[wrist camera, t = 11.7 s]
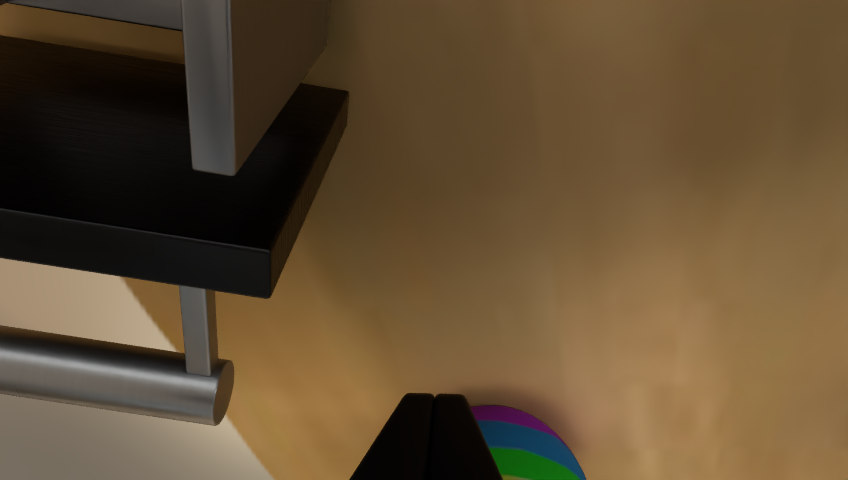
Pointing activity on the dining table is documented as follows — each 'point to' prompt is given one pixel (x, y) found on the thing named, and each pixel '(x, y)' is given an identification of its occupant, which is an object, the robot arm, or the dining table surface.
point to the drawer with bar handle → (161, 184)
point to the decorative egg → (525, 446)
